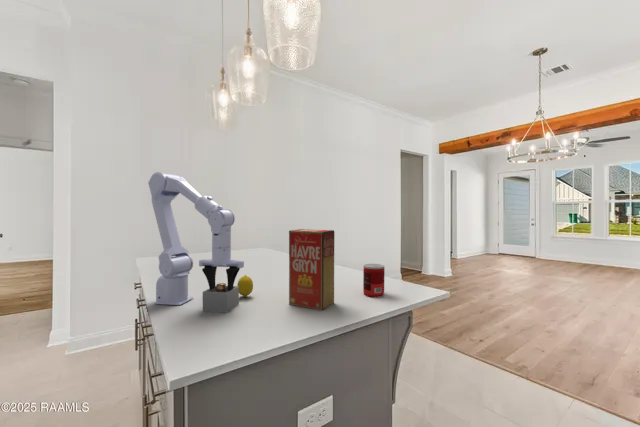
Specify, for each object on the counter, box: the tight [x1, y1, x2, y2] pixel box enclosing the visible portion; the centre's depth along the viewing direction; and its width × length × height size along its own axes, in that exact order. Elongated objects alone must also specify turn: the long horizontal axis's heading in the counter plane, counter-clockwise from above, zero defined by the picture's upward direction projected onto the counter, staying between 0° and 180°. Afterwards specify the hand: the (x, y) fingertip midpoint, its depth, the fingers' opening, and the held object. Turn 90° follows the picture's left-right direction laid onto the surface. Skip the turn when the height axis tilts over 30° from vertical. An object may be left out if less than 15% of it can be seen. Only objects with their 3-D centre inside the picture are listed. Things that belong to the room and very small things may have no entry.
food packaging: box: [288, 228, 335, 311], centre depth 99 cm, size 13×9×25 cm
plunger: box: [216, 282, 227, 292], centre depth 95 cm, size 6×6×7 cm
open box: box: [202, 284, 240, 314], centre depth 95 cm, size 8×8×6 cm
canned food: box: [362, 263, 385, 298], centre depth 111 cm, size 8×8×11 cm
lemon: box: [236, 274, 254, 298], centre depth 106 cm, size 6×6×8 cm
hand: (221, 289), depth 95 cm, fingers open, 6 cm apart
